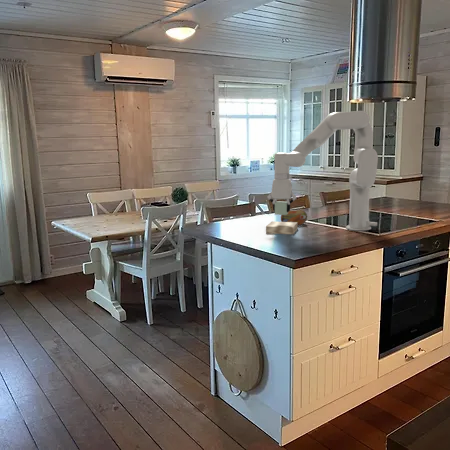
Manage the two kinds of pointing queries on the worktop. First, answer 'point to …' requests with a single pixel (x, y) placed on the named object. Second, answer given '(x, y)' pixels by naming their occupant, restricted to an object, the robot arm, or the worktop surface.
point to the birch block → (282, 227)
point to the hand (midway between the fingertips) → (281, 211)
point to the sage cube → (281, 208)
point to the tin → (295, 217)
